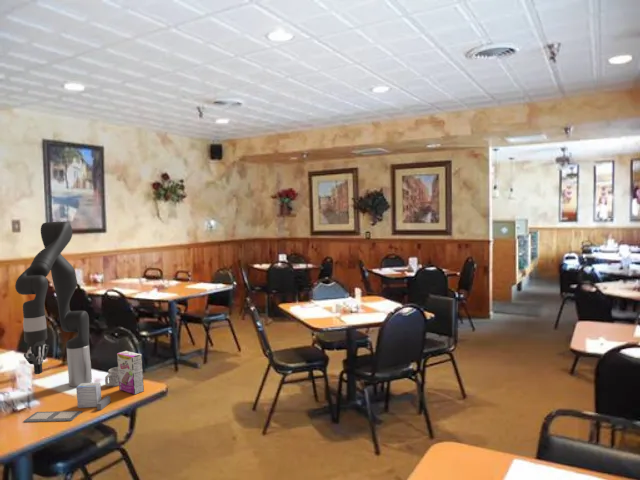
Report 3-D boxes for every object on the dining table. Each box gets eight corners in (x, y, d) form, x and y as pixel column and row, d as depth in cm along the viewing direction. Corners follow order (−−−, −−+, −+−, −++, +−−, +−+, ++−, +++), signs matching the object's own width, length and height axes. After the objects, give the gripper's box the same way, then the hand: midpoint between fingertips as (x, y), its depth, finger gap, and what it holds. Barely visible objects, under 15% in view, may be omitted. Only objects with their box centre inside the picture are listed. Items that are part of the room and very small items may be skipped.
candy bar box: (118, 390, 214) (116, 353, 213) (128, 386, 218) (126, 350, 217) (134, 395, 208) (132, 356, 207) (144, 391, 212) (142, 353, 211)
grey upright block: (102, 403, 201) (100, 382, 200) (97, 407, 196) (96, 386, 196) (82, 403, 201) (81, 383, 200) (77, 408, 196) (75, 386, 196)
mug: (116, 380, 227) (115, 366, 227) (128, 381, 225) (127, 367, 225) (100, 388, 218) (99, 373, 218) (112, 389, 216) (111, 374, 215)
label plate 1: (36, 413, 193) (36, 411, 193) (59, 412, 192) (59, 411, 192) (23, 422, 185) (23, 420, 185) (47, 421, 184) (47, 419, 184)
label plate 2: (59, 412, 192) (59, 411, 192) (82, 412, 192) (82, 410, 192) (47, 421, 184) (47, 419, 184) (71, 420, 184) (71, 419, 184)
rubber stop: (106, 402, 201) (106, 396, 201) (110, 402, 201) (110, 396, 201) (97, 410, 193) (96, 403, 193) (101, 410, 193) (100, 403, 193)
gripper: (34, 332, 180) (37, 379, 181) (54, 323, 193) (58, 367, 194) (14, 333, 180) (17, 379, 181) (36, 324, 193) (39, 368, 194)
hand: (38, 373), depth 187 cm, fingers closed
